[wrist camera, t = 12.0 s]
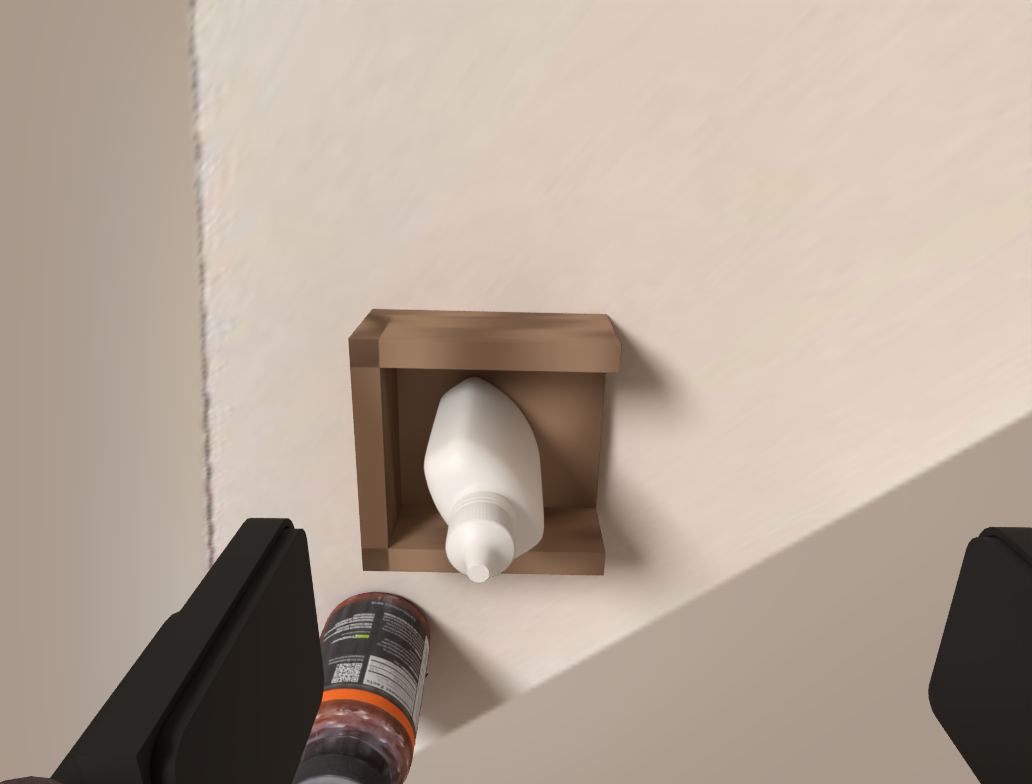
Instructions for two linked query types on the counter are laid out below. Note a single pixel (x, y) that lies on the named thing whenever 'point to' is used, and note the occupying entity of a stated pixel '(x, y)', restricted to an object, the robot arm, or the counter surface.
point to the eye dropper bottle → (484, 478)
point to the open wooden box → (518, 374)
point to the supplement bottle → (368, 693)
